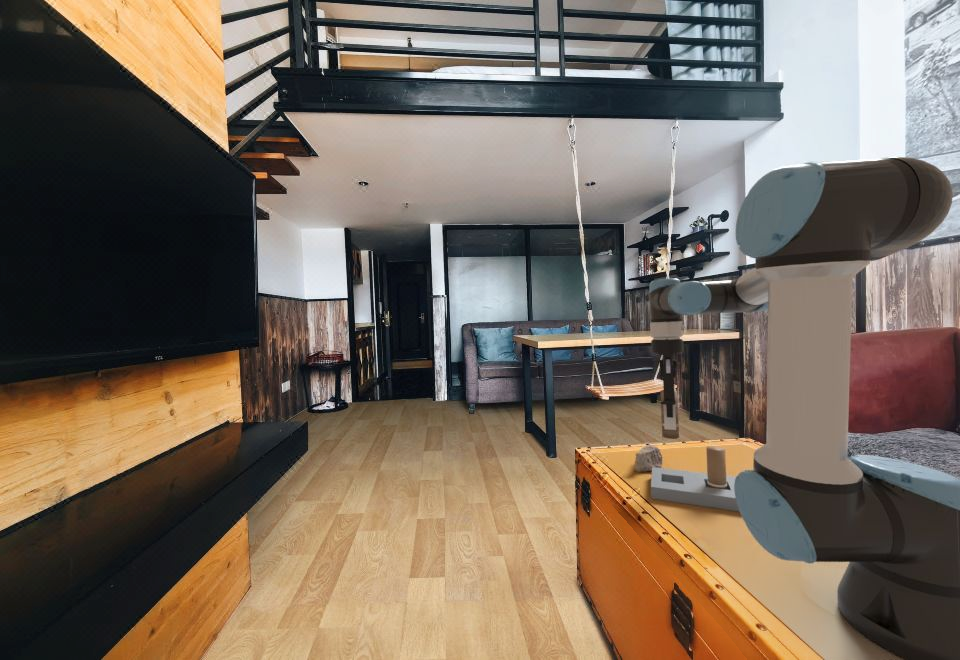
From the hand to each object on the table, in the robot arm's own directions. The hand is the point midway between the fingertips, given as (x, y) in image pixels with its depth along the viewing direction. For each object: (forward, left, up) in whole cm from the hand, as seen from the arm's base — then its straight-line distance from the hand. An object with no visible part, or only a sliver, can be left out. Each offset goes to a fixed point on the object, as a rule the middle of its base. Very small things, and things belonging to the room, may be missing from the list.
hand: (670, 426), depth 98 cm
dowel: (0, 0, -3) cm, 3 cm away
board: (0, -5, -17) cm, 18 cm away
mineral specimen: (+15, +6, -17) cm, 24 cm away
